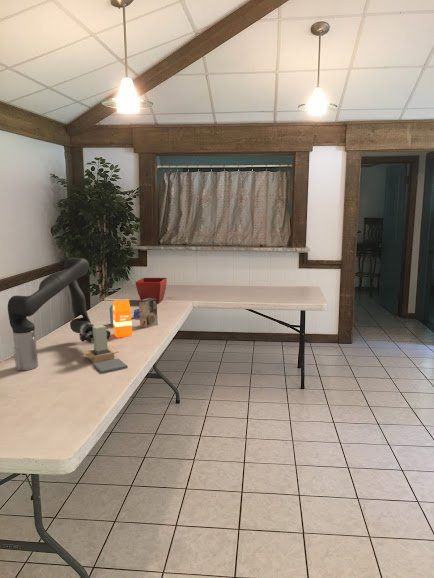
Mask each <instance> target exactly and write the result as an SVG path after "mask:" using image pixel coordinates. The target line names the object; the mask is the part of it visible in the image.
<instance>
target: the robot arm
mask: <svg viewBox="0 0 434 578" xmlns="http://www.w3.org/2000/svg"><path fill="white" fill-rule="evenodd" d="M89 269H90V263H89V261H88V259H86V258H83V257H68V258H67V259H65V262H64V269H63V270H60V271H56V272H54V273H52V274H50V275H48V276H46V277H45V278H44V279H42V280H41V282H39V286H38V289H37V291H35V292H34V293H32V294H29V295H12V296H11V297H10V298H9V299H8V302H7V313H8V314H7V315H8V320H9V325H10V327H11V329H12V336H13V353H14V354H13V355H14V363H15V368H16V370H17V371H18V370H19V371H30V370H33V369H36V368H38V367H39V360H38V359H39V358H38V349H37V340H36V339H37V337H36V330H35V329H36V328H35V324H34V323H33V322H32V321H30V320H29V319H28V317H31V316H33V315H34V314H36V313H37V312H38V310H40V308H42V306H44V305H45V304H46V303H47V302H48V301H49V300H51V299H52V298H53V297H55V296H56V295H58V294H59V293H60V292H61V291H63V290H64V289H65V288H67V287H68V289H69V291H70V298H71V307H72V310H71V311H72V314H73V315H79V316H81V317H78V318H74V319H72V320H71V321H70V323H69V327H70V329H71V331H72V332H74V333H76V334H78V335H79V340H80V341H81V342H83V343H84V342H88V343H92V341H93V327H92V326H95V325H94V324H93V323H91V319H90V317H89V315H88V311H87V303H86V296H85V294H84V292H83V291H82V289H81V287H80V285H79V283H78V281H77V280H78V279H80V278H82V277H83V276H85V275H86V274H87V273H88V271H89ZM106 333H107V341H108V340H110V338H111V335H112V334H111V331H110V330H108V329H106ZM93 342H94V341H93Z"/></svg>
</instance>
